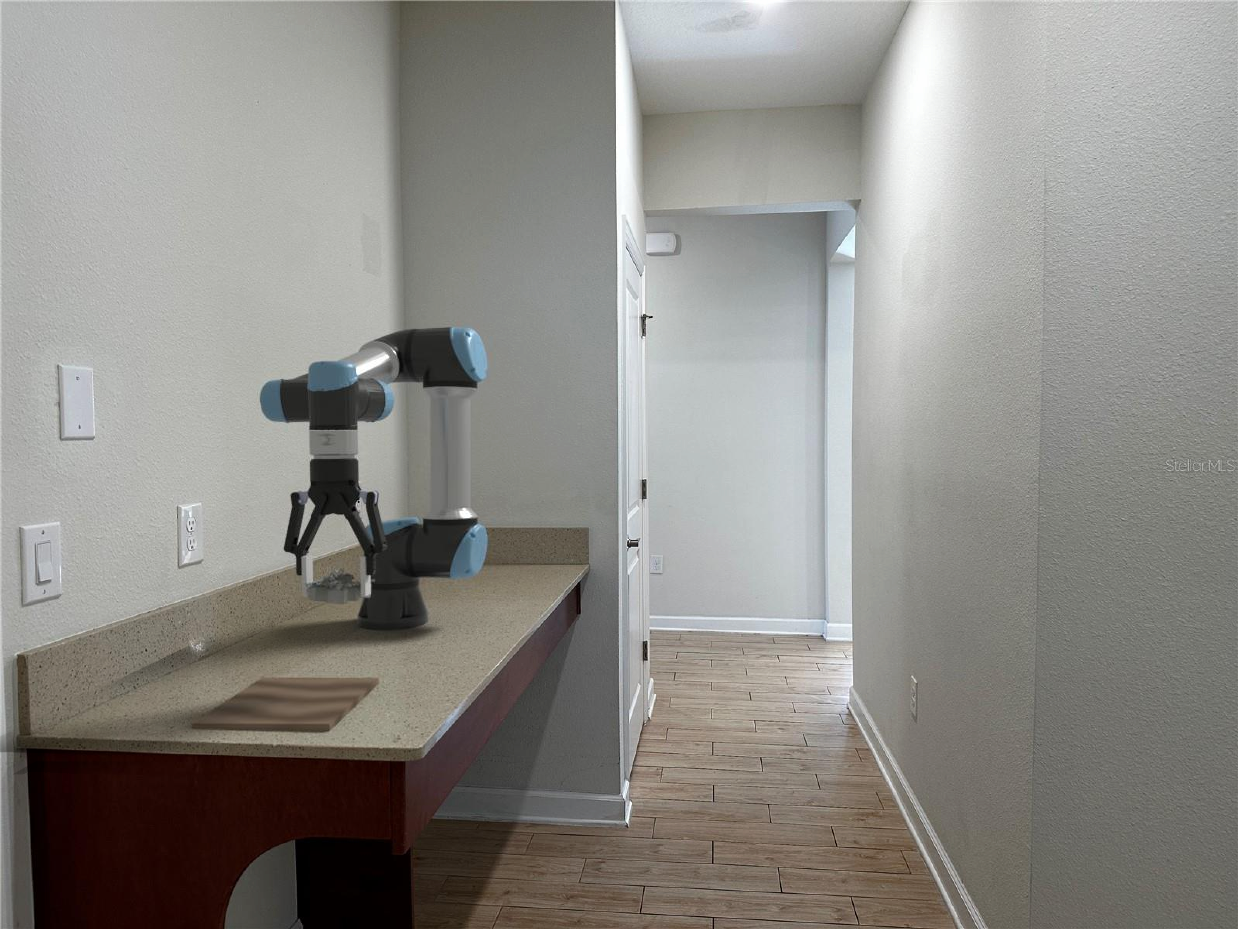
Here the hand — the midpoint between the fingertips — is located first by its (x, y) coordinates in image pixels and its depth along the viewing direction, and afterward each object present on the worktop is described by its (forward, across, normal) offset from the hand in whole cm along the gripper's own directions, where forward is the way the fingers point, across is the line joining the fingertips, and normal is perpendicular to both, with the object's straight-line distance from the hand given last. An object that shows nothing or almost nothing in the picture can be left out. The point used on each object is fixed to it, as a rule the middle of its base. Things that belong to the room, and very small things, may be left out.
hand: (336, 595), depth 139 cm
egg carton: (+2, -2, 0) cm, 3 cm away
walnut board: (+16, -5, -7) cm, 18 cm away
